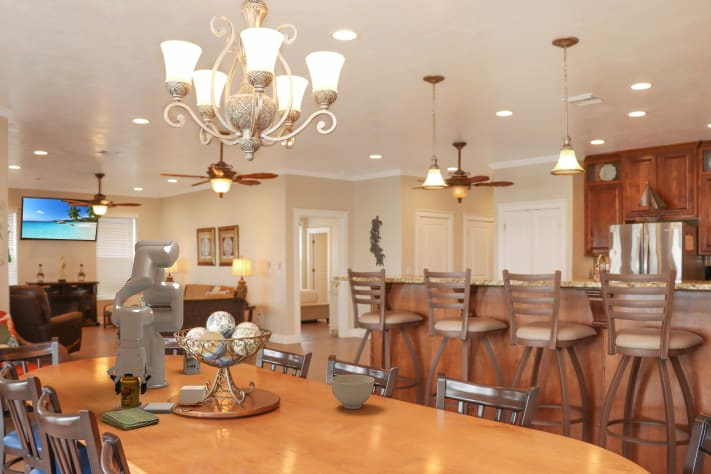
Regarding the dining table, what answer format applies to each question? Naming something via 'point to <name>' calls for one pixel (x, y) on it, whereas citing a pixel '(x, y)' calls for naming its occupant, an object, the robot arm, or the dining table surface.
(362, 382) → the bowl
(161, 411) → the board
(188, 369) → the coffee box
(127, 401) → the condiment
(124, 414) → the washcloth
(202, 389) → the white block
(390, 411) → the dining table surface
